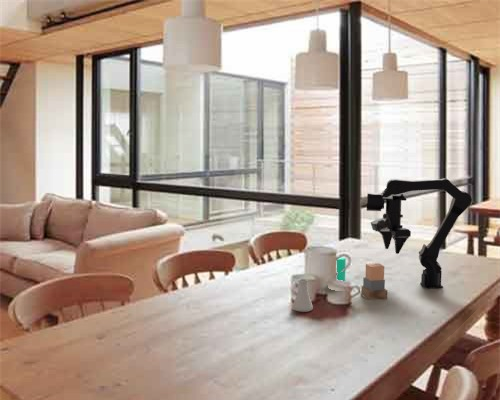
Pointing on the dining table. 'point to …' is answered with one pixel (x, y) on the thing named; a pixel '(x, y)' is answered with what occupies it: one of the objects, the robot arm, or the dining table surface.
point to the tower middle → (373, 284)
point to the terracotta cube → (374, 271)
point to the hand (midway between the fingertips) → (391, 251)
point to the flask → (302, 298)
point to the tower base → (374, 294)
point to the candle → (341, 268)
